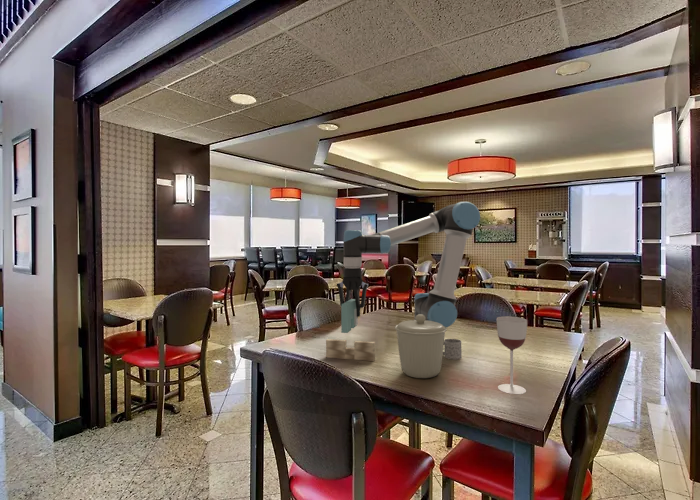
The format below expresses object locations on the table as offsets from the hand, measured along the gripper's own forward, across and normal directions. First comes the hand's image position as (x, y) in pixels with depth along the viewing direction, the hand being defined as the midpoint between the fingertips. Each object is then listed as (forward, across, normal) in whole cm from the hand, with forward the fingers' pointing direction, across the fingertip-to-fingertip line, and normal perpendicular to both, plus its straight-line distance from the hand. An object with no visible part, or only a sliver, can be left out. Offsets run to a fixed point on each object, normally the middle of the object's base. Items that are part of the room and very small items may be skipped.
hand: (352, 324), depth 157 cm
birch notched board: (+13, 0, +4) cm, 14 cm away
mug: (+13, -38, -8) cm, 41 cm away
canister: (+13, -29, +15) cm, 36 cm away
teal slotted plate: (+1, 0, +5) cm, 5 cm away
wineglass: (+13, -58, +22) cm, 64 cm away
